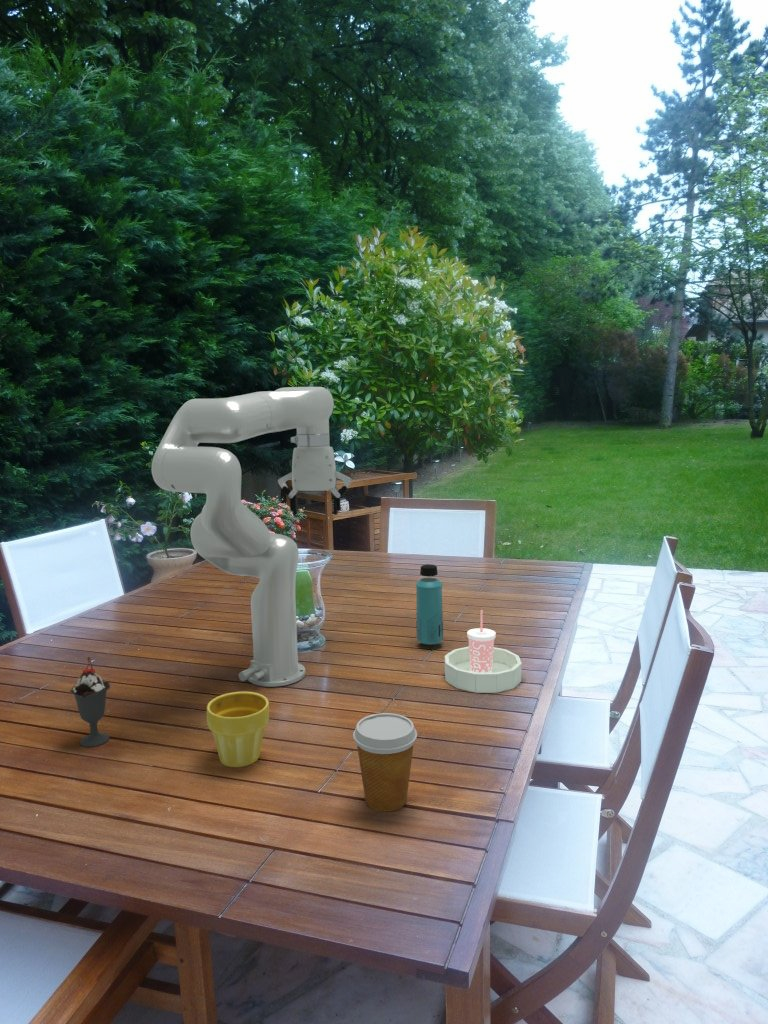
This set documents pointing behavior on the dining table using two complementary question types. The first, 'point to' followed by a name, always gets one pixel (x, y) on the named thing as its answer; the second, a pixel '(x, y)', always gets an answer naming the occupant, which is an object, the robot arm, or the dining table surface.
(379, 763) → the disposable coffee cup
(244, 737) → the plant pot
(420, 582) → the beverage bottle
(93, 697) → the sundae
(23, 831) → the dining table surface
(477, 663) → the beverage cup
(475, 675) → the bowl
